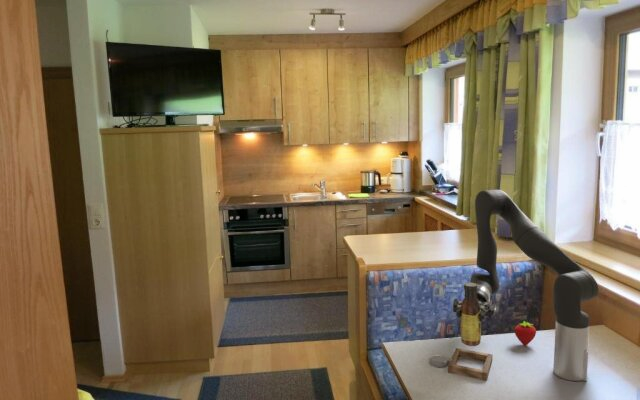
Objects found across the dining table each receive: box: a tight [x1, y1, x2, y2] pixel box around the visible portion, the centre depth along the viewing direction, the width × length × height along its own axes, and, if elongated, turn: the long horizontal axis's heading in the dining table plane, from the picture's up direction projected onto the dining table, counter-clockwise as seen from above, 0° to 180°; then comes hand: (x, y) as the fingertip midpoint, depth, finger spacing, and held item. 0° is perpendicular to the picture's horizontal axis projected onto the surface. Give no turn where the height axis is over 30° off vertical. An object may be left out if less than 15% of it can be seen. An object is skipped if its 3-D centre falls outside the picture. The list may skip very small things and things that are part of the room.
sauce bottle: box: [460, 282, 482, 347], centre depth 151 cm, size 7×6×20 cm
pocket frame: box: [447, 347, 493, 381], centre depth 154 cm, size 12×13×2 cm
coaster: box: [428, 355, 451, 369], centre depth 158 cm, size 7×7×1 cm
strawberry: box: [514, 318, 537, 346], centre depth 167 cm, size 6×8×10 cm
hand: (469, 316), depth 149 cm, fingers closed on sauce bottle, 6 cm apart
